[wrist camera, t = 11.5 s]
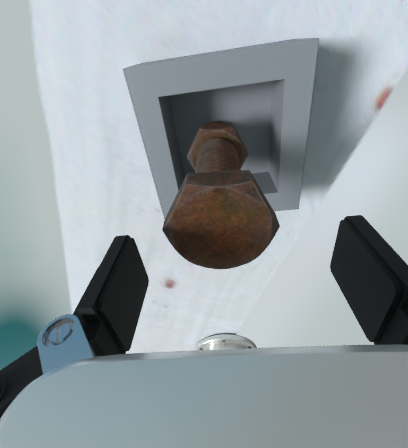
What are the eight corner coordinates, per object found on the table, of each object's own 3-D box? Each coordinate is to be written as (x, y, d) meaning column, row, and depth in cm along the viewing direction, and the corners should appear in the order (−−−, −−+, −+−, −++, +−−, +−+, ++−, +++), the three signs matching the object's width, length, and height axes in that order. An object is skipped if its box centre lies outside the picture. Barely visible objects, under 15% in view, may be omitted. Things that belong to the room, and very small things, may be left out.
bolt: (206, 93, 22) (199, 158, 10) (255, 120, 23) (302, 208, 11) (181, 150, 25) (151, 254, 13) (224, 171, 26) (234, 284, 14)
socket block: (284, 182, 28) (298, 208, 23) (172, 193, 29) (164, 220, 24) (295, 39, 20) (319, 38, 15) (141, 63, 21) (122, 68, 17)
